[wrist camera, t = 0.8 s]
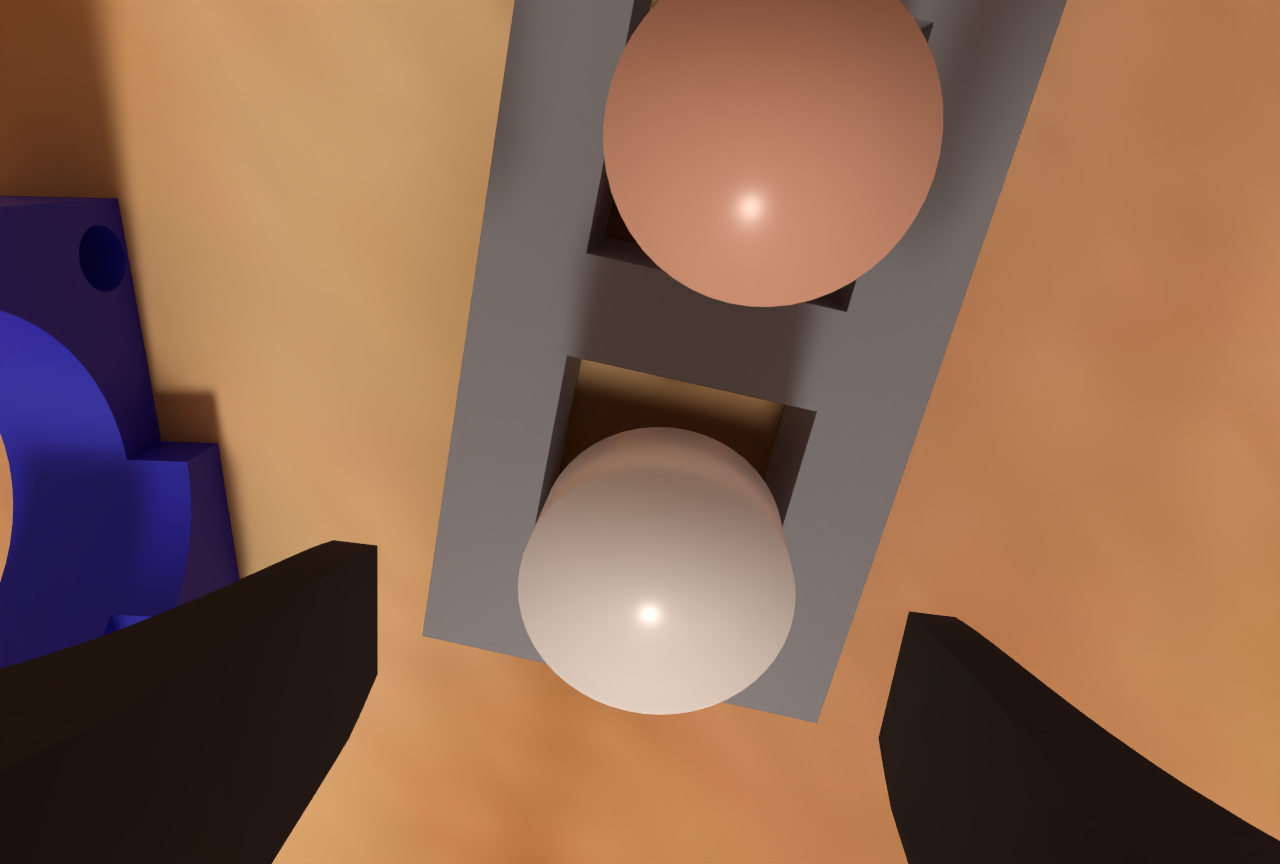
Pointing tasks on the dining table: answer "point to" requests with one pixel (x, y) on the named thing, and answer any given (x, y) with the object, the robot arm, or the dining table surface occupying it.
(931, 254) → the mount
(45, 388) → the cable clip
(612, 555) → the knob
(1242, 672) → the dining table surface
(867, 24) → the knob middle
